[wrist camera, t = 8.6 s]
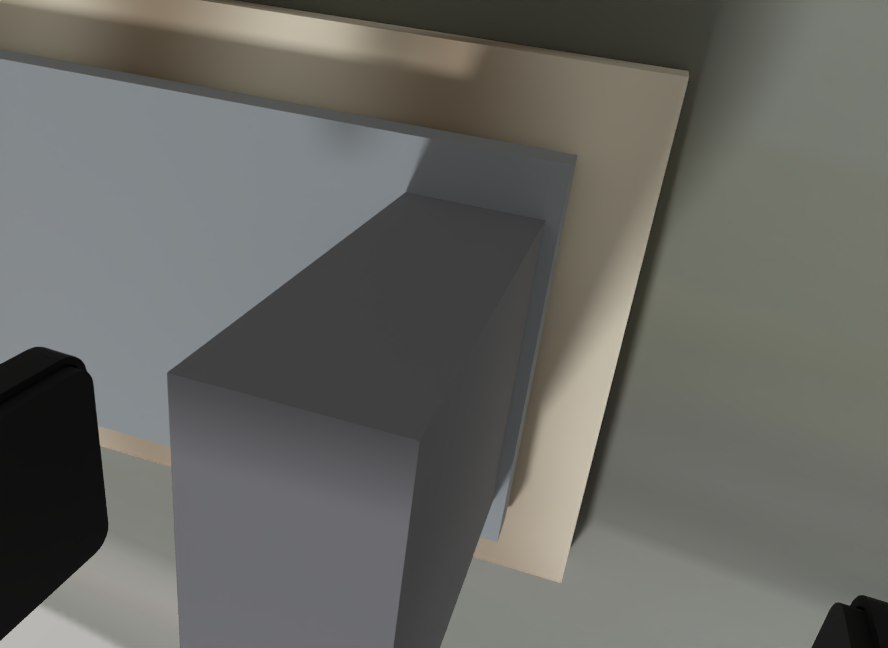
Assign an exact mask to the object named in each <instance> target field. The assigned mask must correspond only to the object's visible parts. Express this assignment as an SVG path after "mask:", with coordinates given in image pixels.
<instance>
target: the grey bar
mask: <svg viewBox="0 0 888 648" xmlns="http://www.w3.org/2000/svg"><path fill="white" fill-rule="evenodd" d="M577 156H578V155H574V154H569V153H563V152H558V151H553V150H547V149H542V148H536V147H531V146H525V145H520V144H514V143H509V142H503V141H498V140H492V139H487V138H481V137H476V136H470V135H465V134H460V133H454V132H449V131H443V130H438V129H432V128H427V127H421V126H416V125H410V124H405V123H399V122H394V121H388V120H383V119H377V118H372V117H367V116H361V115H356V114H350V113H345V112H339V111H334V110H328V109H323V108H317V107H312V106H306V105H301V104H295V103H290V102H284V101H279V100H274V99H268V98H263V97H257V96H252V95H246V94H241V93H235V92H230V91H224V90H219V89H213V88H208V87H202V86H197V85H191V84H186V83H181V82H175V81H170V80H164V79H159V78H153V77H148V76H142V75H137V74H131V73H126V72H120V71H115V70H109V69H104V68H99V67H93V66H88V65H82V64H77V63H71V62H66V61H60V60H55V59H49V58H44V57H38V56H33V55H27V54H22V53H16V52H11V51H6V50H0V364H1V363H3V362H5V361H7V360H9V359H11V358H13V357H14V356H16V355H18V354H20V353H22V352H24V351H26V350H28V349H30V348H33V347H45V348H49V349H52V350H55V351H58V352H62V353H65V354H68V355H72V356H75V357H77V358H79V359H81V360H82V361H83V363H84V364H85V366H86V370H87V372H88V373H89V374H90V375H91V377H92V379H93V384H94V393H95V403H96V412H97V422H98V426H100V427H104V428H107V429H111V430H114V431H118V432H121V433H125V434H128V435H131V436H135V437H138V438H142V439H145V440H149V441H152V442H155V443H159V444H162V445H166V446H169V447H170V448H171V469H172V490H173V511H174V531H175V552H176V573H177V594H178V614H179V635H180V648H440V646H441V643H442V640H443V637H444V635H445V632H446V629H447V626H448V624H449V621H450V618H451V615H452V613H453V610H454V607H455V604H456V602H457V599H458V596H459V593H460V591H461V588H462V585H463V582H464V580H465V577H466V574H467V571H468V569H469V566H470V563H471V560H472V557H473V555H474V552H475V549H476V546H477V544H478V541H479V538H480V537H481V538H485V539H488V540H492V541H495V542H498V539H499V536H500V533H501V530H502V527H503V524H504V521H505V517H506V512H507V507H508V502H509V497H510V492H511V487H512V482H513V477H514V472H515V467H516V462H517V457H518V452H519V447H520V442H521V437H522V432H523V427H524V422H525V417H526V412H527V407H528V402H529V397H530V392H531V387H532V382H533V376H534V371H535V366H536V361H537V356H538V351H539V346H540V341H541V336H542V331H543V326H544V321H545V316H546V311H547V306H548V301H549V296H550V291H551V286H552V281H553V276H554V271H555V266H556V261H557V256H558V251H559V246H560V241H561V236H562V231H563V226H564V221H565V216H566V211H567V206H568V201H569V196H570V191H571V186H572V181H573V176H574V171H575V166H576V161H577Z"/></svg>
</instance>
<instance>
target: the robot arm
mask: <svg viewBox="0 0 888 648" xmlns="http://www.w3.org/2000/svg"><path fill="white" fill-rule="evenodd" d="M107 532H108V517H107V507H106V498H105V488H104V479H103V469H102V460H101V450H100V441H99V431H98V422H97V412H96V403H95V393H94V384H93V379H92V377H91V375H90V374H89V373H88V372H87V370H86V366H85V364H84V363H83V361H82V360H81V359H79V358H77V357H75V356H72V355H68V354H65V353H62V352H58V351H55V350H52V349H49V348H45V347H33V348H30V349H28V350H26V351H24V352H22V353H20V354H18V355H16V356H14V357H13V358H11V359H9V360H7V361H5V362H3V363H1V364H0V640H2V639H3V638H4V637H5V636H6V635H7V634H8V633H9V632H10V631H11V630H12V629H14V627H16V626H17V625H18V624H19V623H20V622H21V621H22V620H23V619H24V618H26V617H27V616H28V615H29V614H30V613H31V612H32V611H33V610H34V609H35V608H36V607H37V606H39V605H40V604H41V603H42V602H43V601H44V600H45V599H46V598H47V597H48V596H49V595H51V594H52V593H53V592H54V591H55V590H56V589H57V588H58V587H59V586H60V585H61V584H63V583H64V582H65V581H66V580H67V579H68V578H69V577H70V576H71V575H72V574H73V573H75V572H76V571H77V570H78V569H79V568H80V567H81V566H82V565H83V564H84V563H85V562H86V561H88V560H89V559H90V558H91V557H92V556H93V555H94V554H95V553H96V552H97V551H98V550H99V549H100V547H101V546H102V544H103V543H104V540H105V538H106V536H107ZM812 648H888V603H887V602H884V601H880V600H877V599H874V598H871V597H867V596H864V595H861V596H858V597H857V598H855V599H854V600H853V602H852V604H851V605H850V606H848V605H845V604H842V603H835V604H834V605H833V606H832V607H831V609H830V611H829V612H828V615H827V617H826V619H825V621H824V623H823V625H822V627H821V629H820V631H819V633H818V635H817V637H816V640H815V642H814V644H813V646H812Z"/></svg>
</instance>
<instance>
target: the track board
mask: <svg viewBox="0 0 888 648" xmlns="http://www.w3.org/2000/svg"><path fill="white" fill-rule="evenodd" d="M0 50H6V51H11V52H16V53H22V54H27V55H33V56H38V57H44V58H49V59H55V60H60V61H66V62H71V63H77V64H82V65H88V66H93V67H99V68H104V69H109V70H115V71H120V72H126V73H131V74H137V75H142V76H148V77H153V78H159V79H164V80H170V81H175V82H181V83H186V84H191V85H197V86H202V87H208V88H213V89H219V90H224V91H230V92H235V93H241V94H246V95H252V96H257V97H263V98H268V99H274V100H279V101H284V102H290V103H295V104H301V105H306V106H312V107H317V108H323V109H328V110H334V111H339V112H345V113H350V114H356V115H361V116H367V117H372V118H377V119H383V120H388V121H394V122H399V123H405V124H410V125H416V126H421V127H427V128H432V129H438V130H443V131H449V132H454V133H460V134H465V135H470V136H476V137H481V138H487V139H492V140H498V141H503V142H509V143H514V144H520V145H525V146H531V147H536V148H542V149H547V150H553V151H558V152H563V153H569V154H574V155H578V156H577V161H576V166H575V171H574V176H573V181H572V186H571V191H570V196H569V201H568V206H567V211H566V216H565V221H564V226H563V231H562V236H561V241H560V246H559V251H558V256H557V261H556V266H555V271H554V276H553V281H552V286H551V291H550V296H549V301H548V306H547V311H546V316H545V321H544V326H543V331H542V336H541V341H540V346H539V351H538V356H537V361H536V366H535V371H534V376H533V382H532V387H531V392H530V397H529V402H528V407H527V412H526V417H525V422H524V427H523V432H522V437H521V442H520V447H519V452H518V457H517V462H516V467H515V472H514V477H513V482H512V487H511V492H510V497H509V502H508V507H507V512H506V517H505V521H504V524H503V527H502V530H501V533H500V536H499V539H498V542H495V541H492V540H488V539H485V538H481V537H480V538H479V541H478V544H477V546H476V549H475V552H474V555H473V557H475V558H479V559H482V560H485V561H489V562H492V563H495V564H499V565H502V566H505V567H509V568H512V569H516V570H519V571H522V572H526V573H529V574H532V575H536V576H539V577H542V578H546V579H549V580H553V581H556V582H559V583H561V581H562V577H563V573H564V569H565V565H566V561H567V558H568V554H569V550H570V546H571V542H572V538H573V534H574V530H575V526H576V522H577V518H578V514H579V510H580V506H581V502H582V498H583V494H584V490H585V486H586V482H587V479H588V475H589V471H590V467H591V463H592V459H593V455H594V451H595V447H596V443H597V439H598V435H599V431H600V427H601V423H602V419H603V415H604V411H605V407H606V403H607V399H608V396H609V392H610V388H611V384H612V380H613V376H614V372H615V368H616V364H617V360H618V356H619V352H620V348H621V344H622V340H623V336H624V332H625V328H626V324H627V320H628V317H629V313H630V309H631V305H632V301H633V297H634V293H635V289H636V285H637V281H638V277H639V273H640V269H641V265H642V261H643V257H644V253H645V249H646V245H647V241H648V237H649V234H650V230H651V226H652V222H653V218H654V214H655V210H656V206H657V202H658V198H659V194H660V190H661V186H662V182H663V178H664V174H665V170H666V166H667V162H668V158H669V155H670V151H671V147H672V143H673V139H674V135H675V131H676V127H677V123H678V119H679V115H680V111H681V107H682V103H683V99H684V95H685V91H686V87H687V83H688V79H689V71H685V70H679V69H672V68H666V67H660V66H653V65H647V64H640V63H634V62H628V61H621V60H615V59H608V58H602V57H596V56H589V55H583V54H576V53H570V52H563V51H557V50H551V49H544V48H538V47H531V46H525V45H519V44H512V43H506V42H499V41H493V40H487V39H480V38H474V37H467V36H461V35H454V34H448V33H442V32H435V31H429V30H422V29H416V28H410V27H403V26H397V25H390V24H384V23H378V22H371V21H365V20H358V19H352V18H345V17H339V16H333V15H326V14H320V13H313V12H307V11H301V10H294V9H288V8H281V7H275V6H269V5H262V4H256V3H249V2H243V1H237V0H0ZM98 431H99V441H100V446H102V447H105V448H109V449H112V450H115V451H119V452H122V453H125V454H129V455H132V456H136V457H139V458H142V459H146V460H149V461H152V462H156V463H159V464H162V465H166V466H169V467H171V448H170V447H169V446H166V445H162V444H159V443H155V442H152V441H149V440H145V439H142V438H138V437H135V436H131V435H128V434H125V433H121V432H118V431H114V430H111V429H107V428H104V427H100V426H98Z"/></svg>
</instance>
